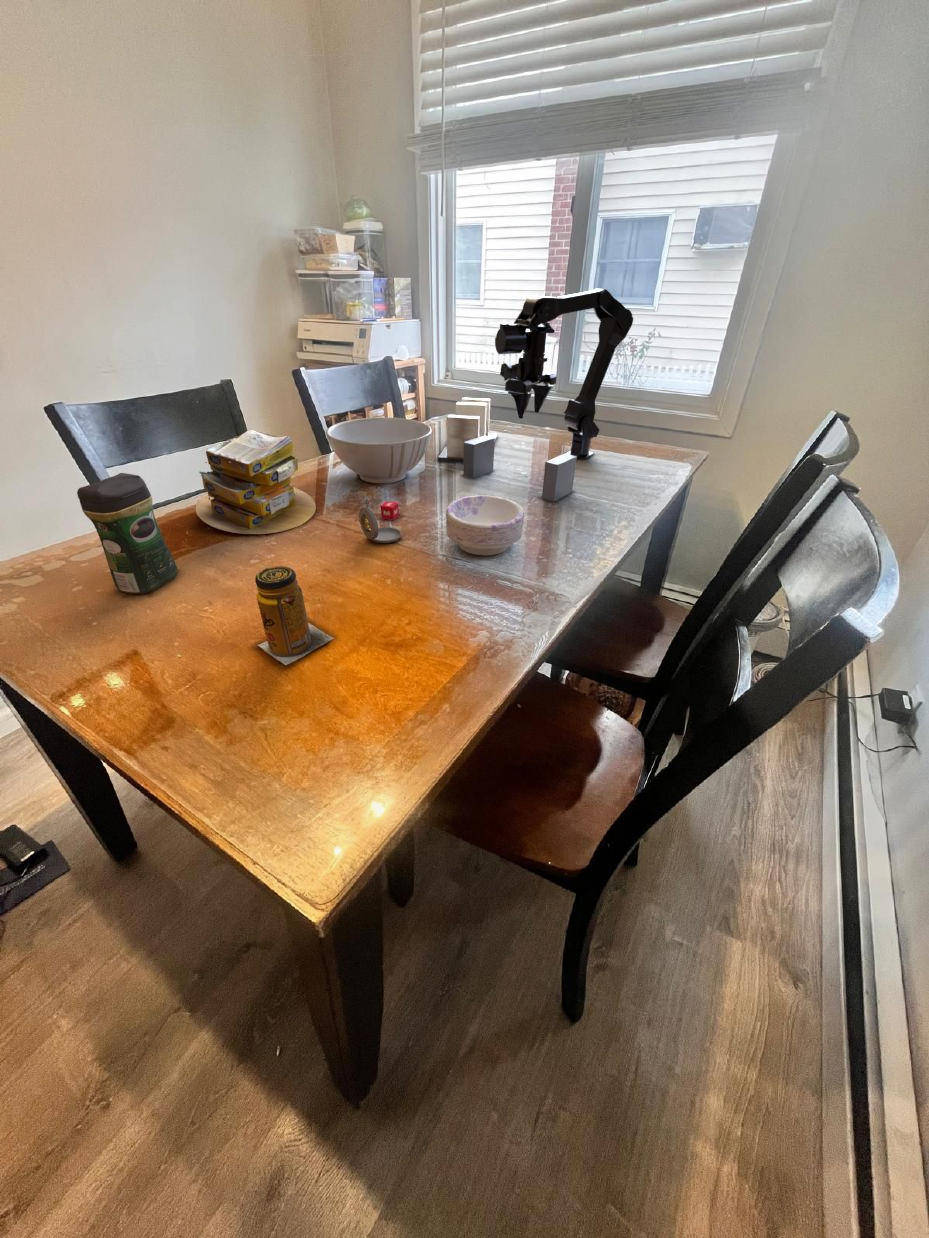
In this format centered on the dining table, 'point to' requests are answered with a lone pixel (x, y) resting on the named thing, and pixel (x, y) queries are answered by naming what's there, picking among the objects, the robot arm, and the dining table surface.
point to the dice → (389, 510)
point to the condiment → (285, 616)
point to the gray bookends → (555, 473)
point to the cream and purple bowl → (484, 524)
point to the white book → (473, 413)
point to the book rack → (463, 432)
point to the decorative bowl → (380, 446)
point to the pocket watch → (376, 526)
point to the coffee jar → (128, 533)
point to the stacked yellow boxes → (253, 486)
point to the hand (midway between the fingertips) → (528, 415)
